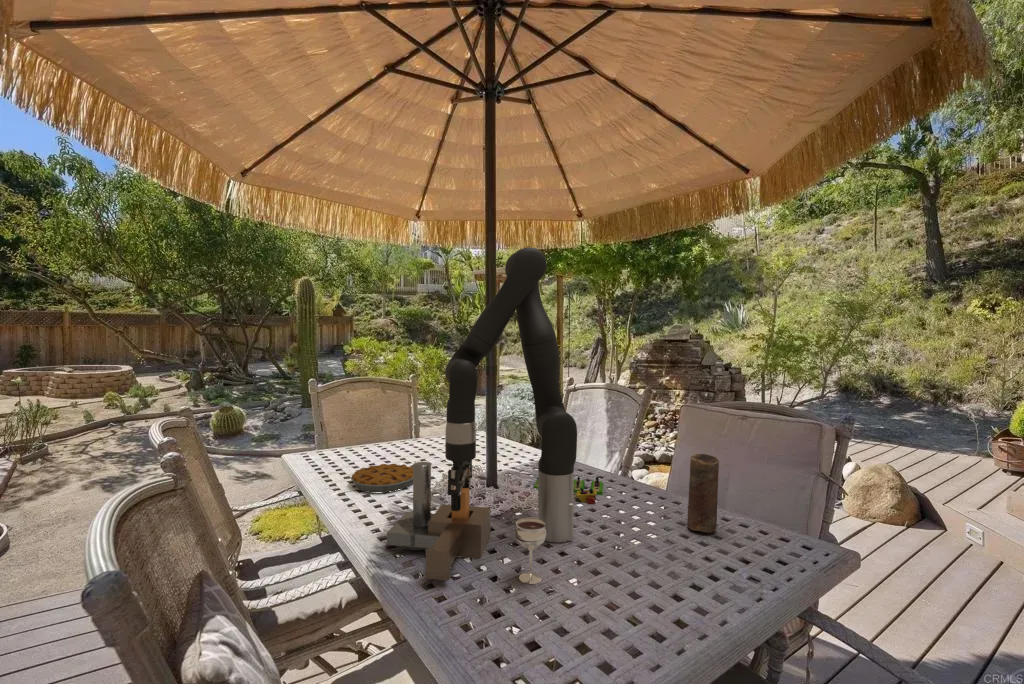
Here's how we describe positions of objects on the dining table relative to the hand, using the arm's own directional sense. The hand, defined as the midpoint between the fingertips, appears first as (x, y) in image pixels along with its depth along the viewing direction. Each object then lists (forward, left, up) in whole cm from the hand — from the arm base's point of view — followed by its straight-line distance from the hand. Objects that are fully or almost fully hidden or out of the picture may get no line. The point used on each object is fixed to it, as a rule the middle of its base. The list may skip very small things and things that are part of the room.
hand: (460, 503), depth 119 cm
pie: (+38, -41, -11) cm, 57 cm away
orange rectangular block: (0, 0, -11) cm, 11 cm away
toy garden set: (-25, -44, -11) cm, 52 cm away
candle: (-62, -20, -11) cm, 66 cm away
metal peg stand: (+10, 0, -11) cm, 15 cm away
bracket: (0, +7, -11) cm, 12 cm away
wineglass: (-19, +12, -11) cm, 25 cm away
